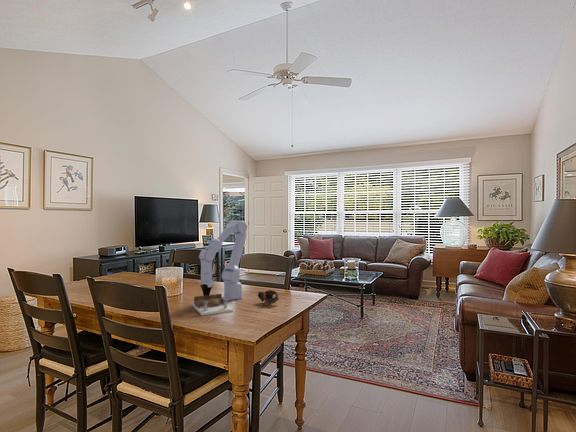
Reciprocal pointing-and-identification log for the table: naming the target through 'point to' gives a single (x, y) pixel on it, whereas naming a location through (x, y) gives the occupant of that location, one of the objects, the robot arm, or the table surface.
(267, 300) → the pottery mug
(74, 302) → the table surface
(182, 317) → the table surface
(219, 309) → the board
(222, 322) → the table surface
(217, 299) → the brown rectangular box
